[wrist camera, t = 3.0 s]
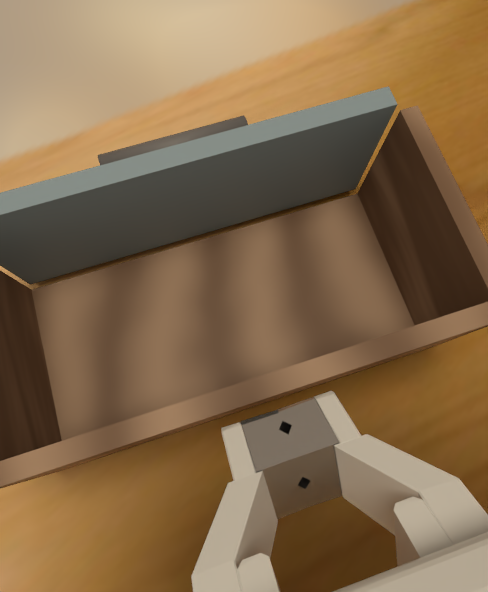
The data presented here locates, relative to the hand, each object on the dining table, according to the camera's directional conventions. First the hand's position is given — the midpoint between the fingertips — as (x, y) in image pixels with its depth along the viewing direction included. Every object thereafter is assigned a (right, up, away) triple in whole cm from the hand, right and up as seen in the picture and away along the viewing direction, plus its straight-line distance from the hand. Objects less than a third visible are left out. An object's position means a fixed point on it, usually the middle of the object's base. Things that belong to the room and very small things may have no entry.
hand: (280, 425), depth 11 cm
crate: (-2, +1, +19) cm, 19 cm away
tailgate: (-4, +8, +20) cm, 22 cm away
